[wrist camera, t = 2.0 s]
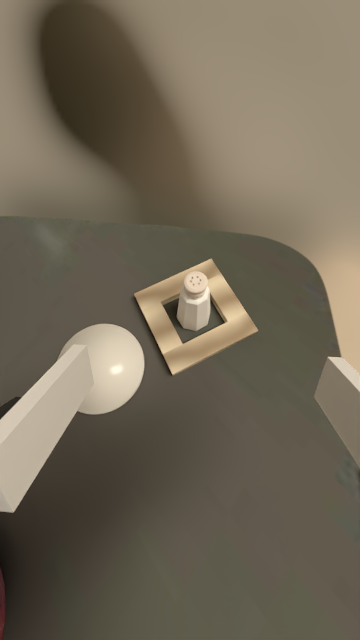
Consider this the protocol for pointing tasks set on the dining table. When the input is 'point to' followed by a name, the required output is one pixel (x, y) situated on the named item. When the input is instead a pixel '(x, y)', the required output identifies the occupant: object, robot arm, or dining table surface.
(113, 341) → the white plate
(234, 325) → the birch frame
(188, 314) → the pepper shaker
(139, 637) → the dining table surface
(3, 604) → the decorative sphere
